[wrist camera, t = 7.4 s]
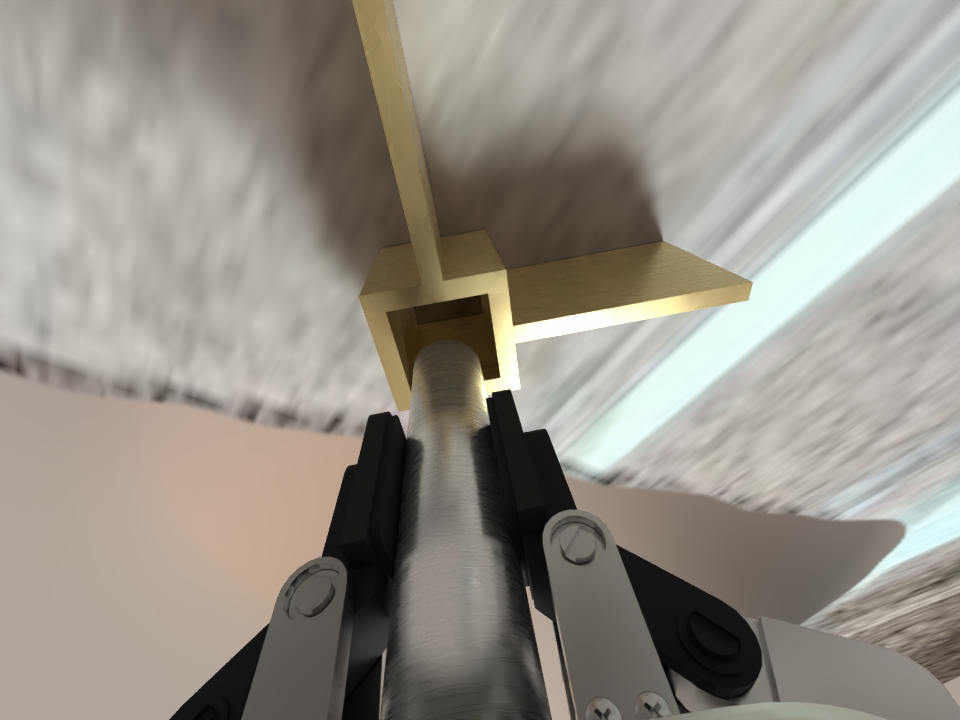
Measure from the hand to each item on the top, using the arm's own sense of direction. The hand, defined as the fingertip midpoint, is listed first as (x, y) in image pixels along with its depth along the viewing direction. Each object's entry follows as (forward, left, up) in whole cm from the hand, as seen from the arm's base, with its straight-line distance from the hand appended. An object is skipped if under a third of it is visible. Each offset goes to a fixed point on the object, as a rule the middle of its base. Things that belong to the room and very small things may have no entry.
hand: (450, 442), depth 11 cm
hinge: (-5, +5, -12) cm, 14 cm away
